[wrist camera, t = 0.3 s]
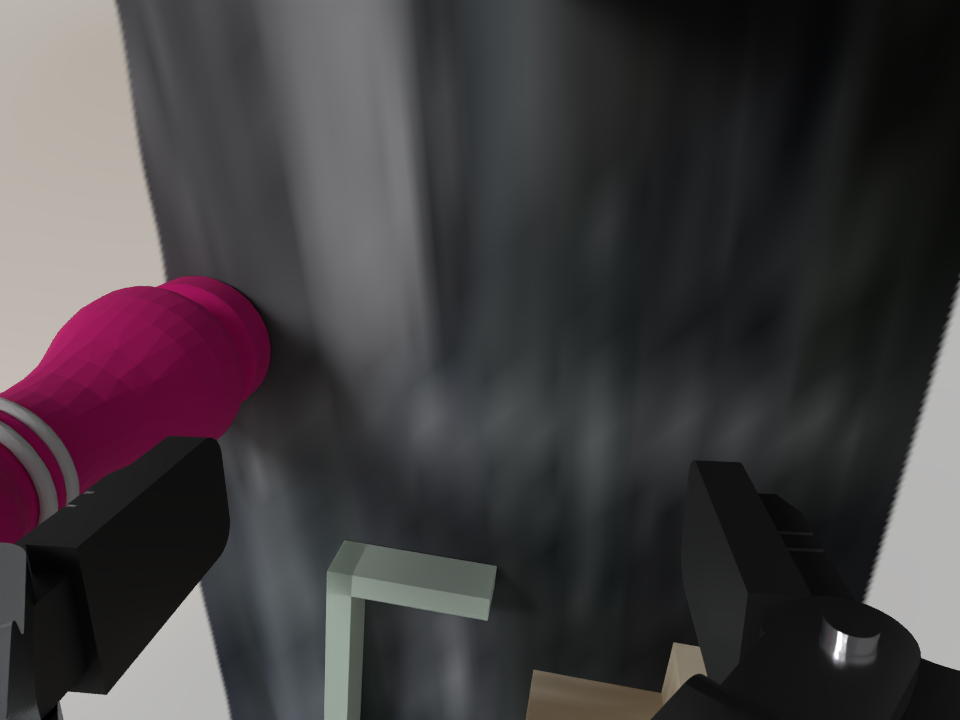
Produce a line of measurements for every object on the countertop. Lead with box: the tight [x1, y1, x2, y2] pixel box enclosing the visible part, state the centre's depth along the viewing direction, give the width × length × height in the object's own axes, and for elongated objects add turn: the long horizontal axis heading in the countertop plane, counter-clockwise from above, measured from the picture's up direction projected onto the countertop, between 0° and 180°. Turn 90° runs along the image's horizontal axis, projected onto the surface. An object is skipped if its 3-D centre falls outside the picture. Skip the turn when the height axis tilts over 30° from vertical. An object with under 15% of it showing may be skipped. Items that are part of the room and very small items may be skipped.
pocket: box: [324, 540, 497, 720], centre depth 37 cm, size 15×8×2 cm, turn 175°
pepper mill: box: [0, 276, 271, 544], centre depth 23 cm, size 7×7×20 cm
